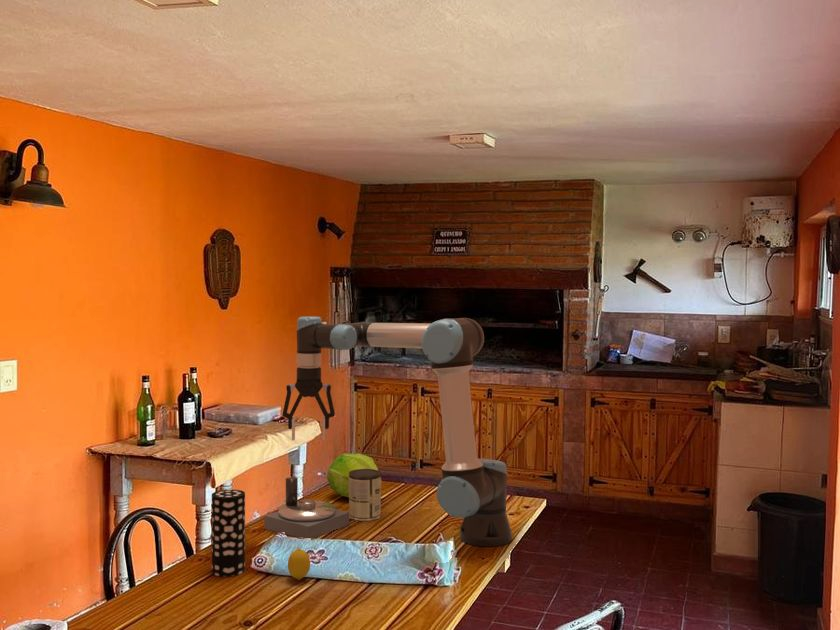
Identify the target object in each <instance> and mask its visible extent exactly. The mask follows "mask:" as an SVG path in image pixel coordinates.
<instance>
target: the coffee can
mask: <svg viewBox="0 0 840 630" xmlns="http://www.w3.org/2000/svg"><path fill="white" fill-rule="evenodd" d="M381 481H382V471H380V470H379V469H378V470H375V469H357V470H352V471H350V472H349V498H348V512H349V519H351V520H353V519H354V521H358V520H359V521H360V522H367V521H375V520H378V519H380V518H381V517H382V514H381V513H382V512H381V510H382V508H381V507H382V504H381V503H382V501H381V498H382V494H381V492H382V491H381V490H382V484H381ZM359 521H358V522H359Z"/></svg>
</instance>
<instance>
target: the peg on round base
mask: <svg viewBox="0 0 840 630" xmlns="http://www.w3.org/2000/svg"><path fill="white" fill-rule="evenodd" d="M298 480H299V479H298V477H295V476H290V477H286V478H285V503H284V504H282V505H280V506H279V508H278V511H279V516H280V517H282V518H284V519H287V520H292V521H317V520H323V519H326V518H329V517H332V516H333V515H334V514H335V509H336V506H335V505H334V504H333V503H331V502H328V501H324V500H314V499H310V498H307V499H306V498H305V499H300V500H298V498H299V497H298V482H299V481H298Z"/></svg>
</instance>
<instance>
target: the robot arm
mask: <svg viewBox="0 0 840 630" xmlns="http://www.w3.org/2000/svg"><path fill="white" fill-rule="evenodd" d="M484 343H485V335H484V330H483V328H482V327H481V325H480V324H479V323H478V322H477V321H476V320H474V319H471V318H468V317H458V318H457V317H455V318H443V319H439V320H436V321H434V322H432V323H425V322H424V323H417V322H409V323H407V322H402V323H401V322H369V321H360V322H353V323H351V322H350V323H335V324H333V323H323V322H322V318H321V317H320V316H299V317H298V319H297V323H296V345H297V346H296V366H297V368H296V382H295V384H287V385H286V387H285V388H286V396H285V401H284V405H283V410H282V417H283V418H287V423H288V424H287V425H288V426H287V428H288V429H289V430H291V441H295V439H296V417H294V414H295V412H296V410H297V409H298V406H299V404H300V402H301V401H302V398H308V397H309V398H315V400H316V402H317V404H318V406H319V407H320V410H321V413H322V414H323V416H324V417H322V441H326V430H329V428H330V418H333V417H335V415H336V412H335V408H334V403H333V398H332V392H331V389H332V385H331V384H330V383H329V384H325V383H323V382H322V367H321V366H322V349H328V350H329V349H330V350H338V351H345V350H346V351H347V350H348V351H349V350H352V348H356V347H357V348H358V347H361V348H362V347H365V348H367V347H368V348H372V347H374V348H375V347H376V348H401V349H402V348H403V349H422V352H423V354H424V355H425V357H426V358H427V359H428V360H429V361H430V367H431V368H430V369H431V371H433V372H434V373H435V374H436V375H437V382H438V393H439V403H440V411H441V421H442V422H441V423H442V431H443V433H442V434H443V443H444V451H445V452H444V453H445V462H444V464H442V466H441V469H440V470H441V480H440V483H439V484H438V486H437V488H436V499H437V502H438V505H439V506H440V508H441V509H442V510H443V511H445V513H446V514H447V515H449V516H451V517H453V518H457V519H462V518H463V520H462V522H461V525H460V528H459V539H460V540H461V541H462V542H464V543H466V544H469V545H472V546H477V547H499V546H503V545H507V544H509V543H511V542H512V541H513V540H512V539H513V537H512V536H513V535H512V534H513V532H512V527H511V524H510V521H509V518H508V516H507V479H508V478H507V477H508V472H507V464H506V463H505V462H504V461H502V460H501V461H500V460H497V459H492V458H491V459H489V458H488V459H487V458H478V457H477V445H476V435H475V427H474V426H475V425H474V424H475V423H474V415H473V407H472V394H471V384H470V374H469V372H470V370H471V369H472V368H473V366H474V359H473V357H474V356H476V355H477V354H478V353H480V350H481V349H482V348H483V345H484ZM295 389H296V391H297V392H298V393H299V394H298V396H297V398H296V400H295V401H294V404H293V405H292V407H291V410H290V412H288V411H289V406H290V402H291V401H290V400H291V396H292V392H293V391H294V390H295ZM322 389H323V391H324V392H325V393H326V398H327V402H328V403H327V405H328V408H329V411H328V410H327V408H326V405H325V403H324V401H323V400H322V398H321V395H320V391H321V390H322Z"/></svg>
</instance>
